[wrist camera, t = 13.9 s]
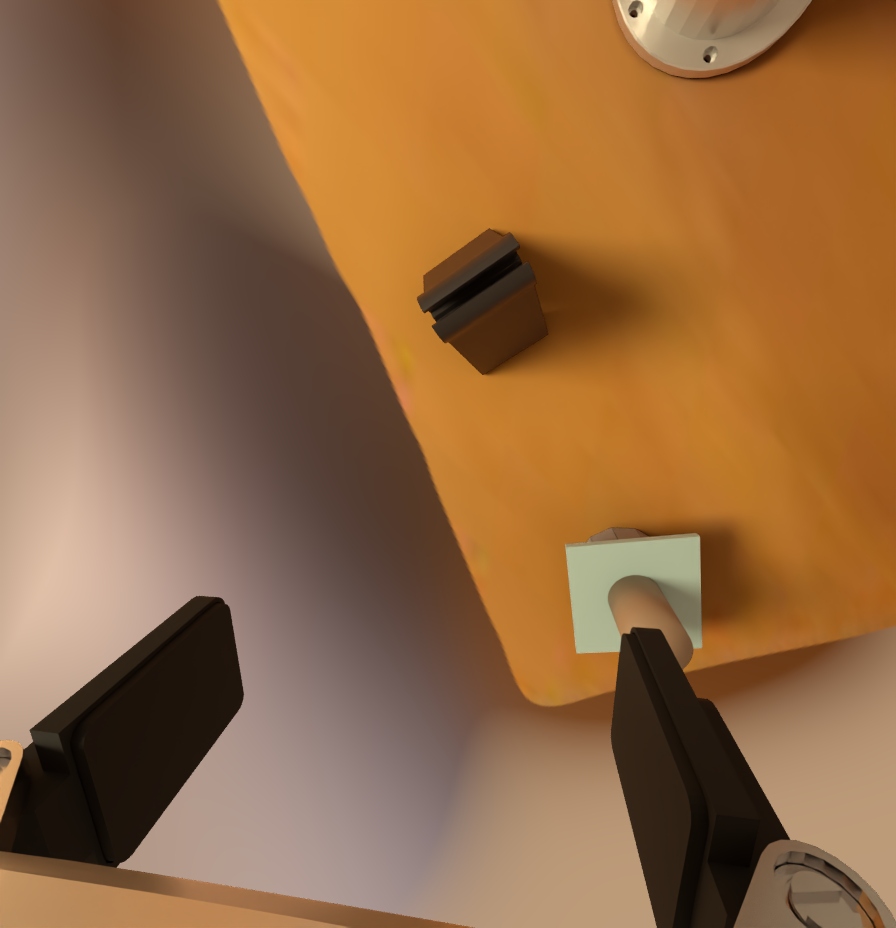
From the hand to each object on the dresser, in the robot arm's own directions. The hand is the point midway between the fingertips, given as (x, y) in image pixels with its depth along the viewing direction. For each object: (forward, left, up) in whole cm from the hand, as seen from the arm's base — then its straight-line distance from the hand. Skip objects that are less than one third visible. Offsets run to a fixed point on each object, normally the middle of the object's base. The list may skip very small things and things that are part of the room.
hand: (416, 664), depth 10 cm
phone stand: (-10, 0, -29) cm, 30 cm away
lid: (+12, +12, -24) cm, 29 cm away
